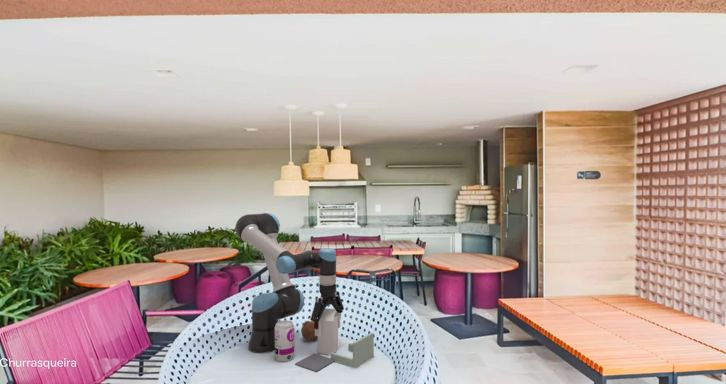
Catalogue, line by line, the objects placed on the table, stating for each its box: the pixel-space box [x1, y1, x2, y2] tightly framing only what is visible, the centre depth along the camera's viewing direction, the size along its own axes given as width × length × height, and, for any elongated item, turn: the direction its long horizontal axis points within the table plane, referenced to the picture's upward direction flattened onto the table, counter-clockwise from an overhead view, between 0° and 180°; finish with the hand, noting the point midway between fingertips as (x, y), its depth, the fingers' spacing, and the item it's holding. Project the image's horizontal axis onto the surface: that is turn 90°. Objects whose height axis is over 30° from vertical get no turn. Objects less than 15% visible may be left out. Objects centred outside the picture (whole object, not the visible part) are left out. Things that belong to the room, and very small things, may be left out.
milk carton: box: [317, 307, 339, 356], centre depth 170 cm, size 7×7×19 cm
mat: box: [294, 353, 336, 373], centre depth 158 cm, size 12×12×1 cm
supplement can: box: [274, 320, 295, 363], centre depth 163 cm, size 8×8×15 cm
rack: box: [330, 332, 375, 369], centre depth 162 cm, size 13×13×10 cm
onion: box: [301, 320, 318, 341], centre depth 184 cm, size 10×9×10 cm
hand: (328, 331), depth 170 cm, fingers open, 13 cm apart
